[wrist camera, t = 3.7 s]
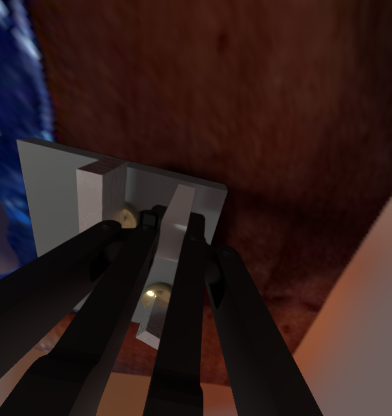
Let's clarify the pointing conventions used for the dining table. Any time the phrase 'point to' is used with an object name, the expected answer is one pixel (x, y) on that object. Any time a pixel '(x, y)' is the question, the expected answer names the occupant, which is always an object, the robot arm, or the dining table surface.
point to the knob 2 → (153, 313)
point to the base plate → (135, 197)
